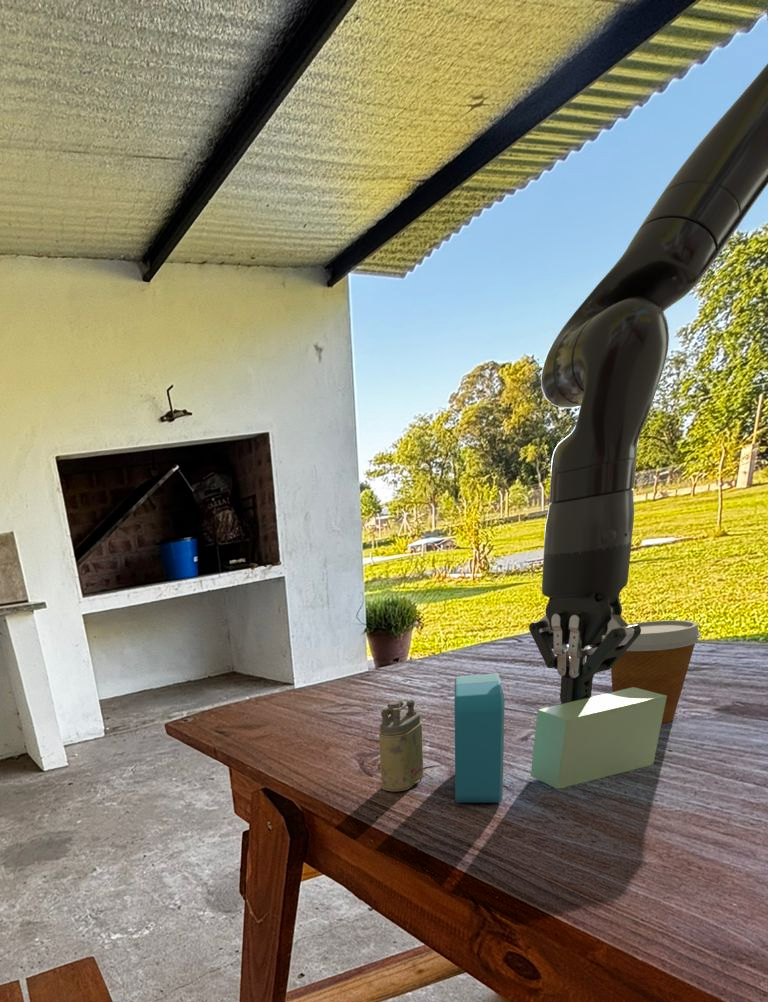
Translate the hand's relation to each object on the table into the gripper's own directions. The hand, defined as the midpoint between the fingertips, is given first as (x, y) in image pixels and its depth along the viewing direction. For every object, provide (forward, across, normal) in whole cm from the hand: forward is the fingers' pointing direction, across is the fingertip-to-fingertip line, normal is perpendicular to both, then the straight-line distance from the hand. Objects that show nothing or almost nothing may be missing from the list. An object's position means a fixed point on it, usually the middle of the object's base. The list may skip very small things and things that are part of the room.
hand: (574, 707), depth 69 cm
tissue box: (+7, -3, 0) cm, 7 cm away
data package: (+7, 0, +12) cm, 14 cm away
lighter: (+7, +6, +18) cm, 20 cm away
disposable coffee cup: (+7, +8, -18) cm, 21 cm away
